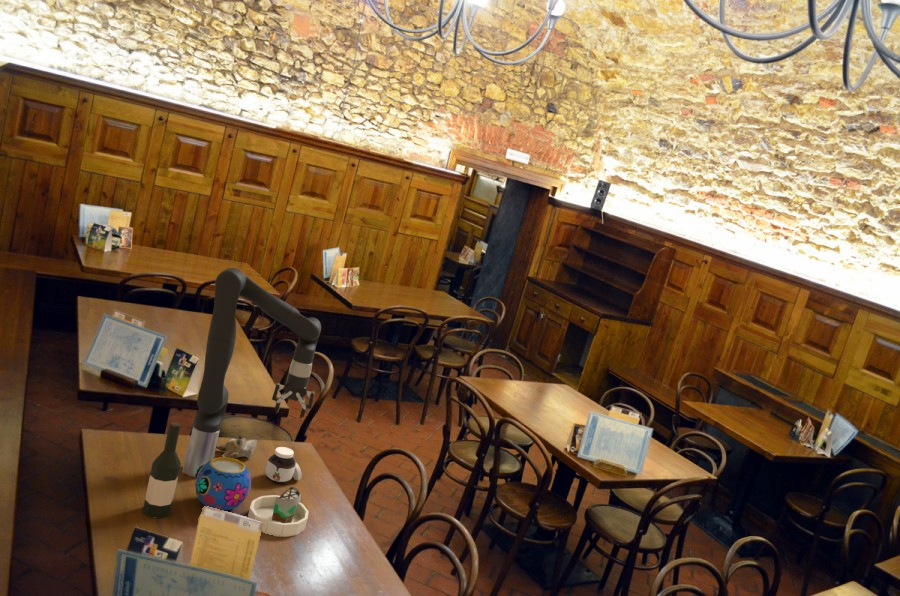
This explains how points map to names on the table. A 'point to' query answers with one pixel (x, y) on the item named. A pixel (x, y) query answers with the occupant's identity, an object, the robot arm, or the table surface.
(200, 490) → the ceramic pot
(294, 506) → the food container
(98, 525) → the table surface
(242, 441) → the ceramic sculpture
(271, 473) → the spread jar
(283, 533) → the bowl
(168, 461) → the wine bottle
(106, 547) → the table surface
